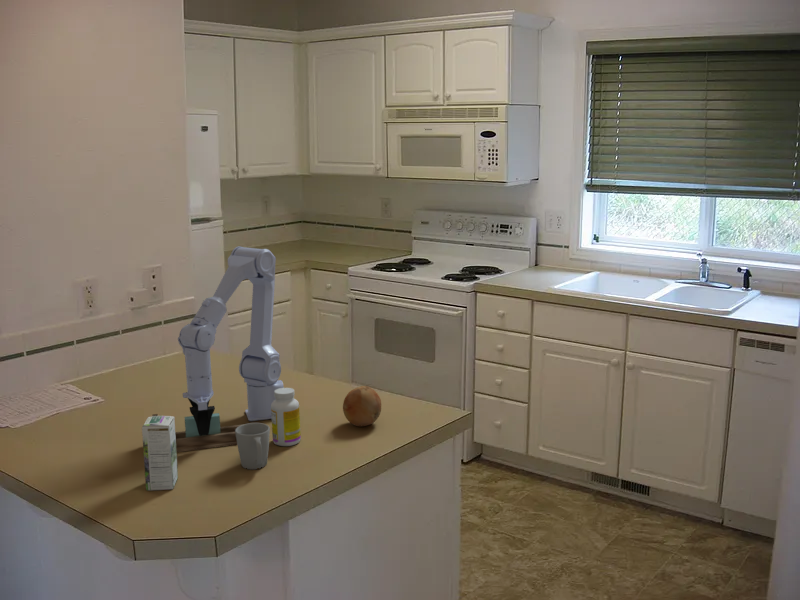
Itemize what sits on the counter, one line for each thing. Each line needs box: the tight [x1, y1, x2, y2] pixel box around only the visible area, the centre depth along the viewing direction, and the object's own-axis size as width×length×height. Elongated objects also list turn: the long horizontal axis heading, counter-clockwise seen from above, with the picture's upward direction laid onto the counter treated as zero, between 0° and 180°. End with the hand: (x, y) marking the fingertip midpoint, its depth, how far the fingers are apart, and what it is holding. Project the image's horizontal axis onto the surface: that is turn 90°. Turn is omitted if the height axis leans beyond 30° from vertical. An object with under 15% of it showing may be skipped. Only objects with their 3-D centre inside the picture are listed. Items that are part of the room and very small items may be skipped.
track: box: [151, 413, 244, 453], centre depth 200 cm, size 21×8×7 cm, turn 107°
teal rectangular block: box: [184, 412, 221, 437], centre depth 200 cm, size 8×2×6 cm, turn 107°
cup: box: [235, 422, 271, 470], centre depth 186 cm, size 8×10×8 cm
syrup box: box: [141, 415, 179, 491], centre depth 177 cm, size 6×6×14 cm
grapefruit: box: [342, 385, 382, 428], centre depth 210 cm, size 10×10×10 cm
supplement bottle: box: [271, 387, 302, 447], centre depth 199 cm, size 7×7×13 cm
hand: (202, 429), depth 200 cm, fingers open, 7 cm apart
